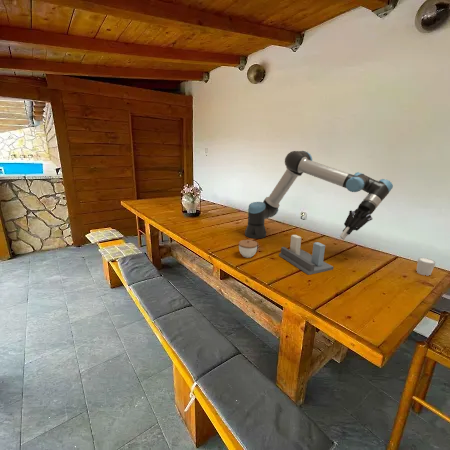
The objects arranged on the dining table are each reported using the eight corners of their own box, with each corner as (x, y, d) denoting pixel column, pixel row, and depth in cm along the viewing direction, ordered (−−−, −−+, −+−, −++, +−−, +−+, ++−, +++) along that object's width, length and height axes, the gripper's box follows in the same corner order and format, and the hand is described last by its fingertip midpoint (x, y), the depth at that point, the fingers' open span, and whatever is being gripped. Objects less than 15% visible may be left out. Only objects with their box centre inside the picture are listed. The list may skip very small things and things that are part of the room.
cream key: (289, 253, 140) (291, 235, 137) (293, 252, 141) (295, 234, 138) (295, 256, 135) (296, 238, 132) (299, 255, 137) (301, 237, 133)
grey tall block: (311, 262, 129) (313, 242, 126) (315, 261, 130) (318, 242, 127) (317, 266, 124) (320, 246, 121) (322, 265, 125) (325, 245, 122)
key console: (278, 255, 141) (279, 247, 140) (301, 251, 147) (302, 243, 146) (308, 274, 119) (309, 265, 118) (333, 269, 125) (334, 260, 124)
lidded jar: (241, 260, 134) (242, 244, 132) (236, 252, 144) (236, 237, 142) (259, 258, 137) (260, 242, 134) (252, 251, 147) (253, 236, 144)
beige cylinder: (415, 268, 127) (418, 256, 125) (432, 272, 123) (435, 260, 121) (414, 273, 122) (417, 260, 120) (432, 277, 118) (435, 264, 116)
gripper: (383, 211, 125) (355, 246, 124) (361, 206, 137) (335, 238, 135) (378, 202, 122) (349, 237, 120) (355, 197, 133) (328, 230, 132)
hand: (341, 237), depth 128 cm, fingers closed
